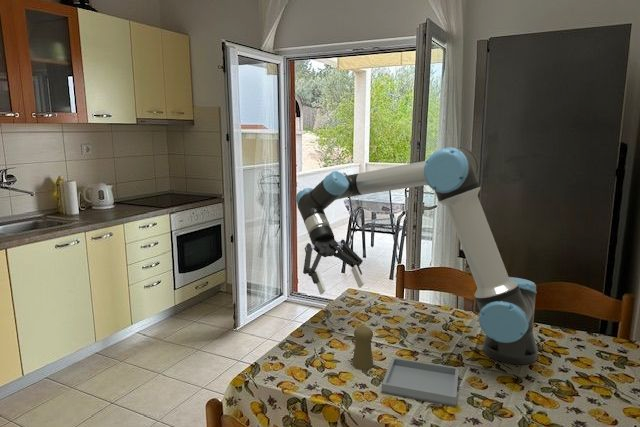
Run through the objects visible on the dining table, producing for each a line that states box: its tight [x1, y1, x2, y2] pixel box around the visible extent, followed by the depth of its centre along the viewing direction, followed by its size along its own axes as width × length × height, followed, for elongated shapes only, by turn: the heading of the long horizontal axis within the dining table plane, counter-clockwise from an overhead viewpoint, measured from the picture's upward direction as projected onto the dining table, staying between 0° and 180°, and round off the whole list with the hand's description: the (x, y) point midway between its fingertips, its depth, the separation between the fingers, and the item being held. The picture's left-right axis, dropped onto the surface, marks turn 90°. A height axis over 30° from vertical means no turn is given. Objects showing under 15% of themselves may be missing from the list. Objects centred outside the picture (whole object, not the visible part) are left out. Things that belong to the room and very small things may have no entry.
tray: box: [381, 356, 460, 408], centre depth 115 cm, size 18×15×2 cm
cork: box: [351, 326, 374, 371], centre depth 125 cm, size 6×6×11 cm
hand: (342, 289), depth 132 cm, fingers open, 13 cm apart
